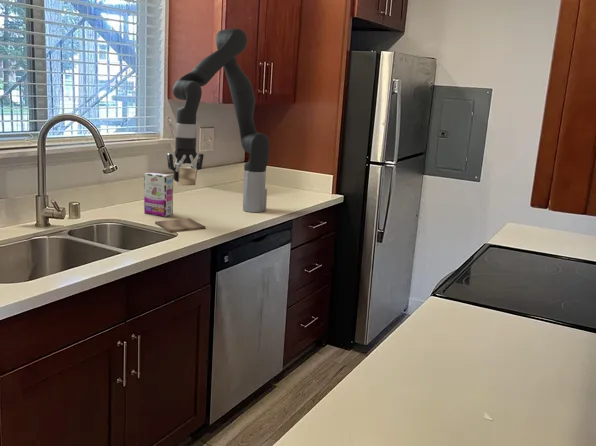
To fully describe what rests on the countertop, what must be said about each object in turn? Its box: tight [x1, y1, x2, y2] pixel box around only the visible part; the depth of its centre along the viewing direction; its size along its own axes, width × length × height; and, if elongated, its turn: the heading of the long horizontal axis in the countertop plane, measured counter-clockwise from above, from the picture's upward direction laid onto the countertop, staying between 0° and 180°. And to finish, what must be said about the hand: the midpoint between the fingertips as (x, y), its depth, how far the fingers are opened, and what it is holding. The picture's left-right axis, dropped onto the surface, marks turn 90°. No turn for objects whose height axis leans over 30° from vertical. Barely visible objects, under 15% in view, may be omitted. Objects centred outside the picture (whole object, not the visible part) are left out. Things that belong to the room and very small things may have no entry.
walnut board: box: [154, 217, 206, 233], centre depth 219 cm, size 14×14×1 cm
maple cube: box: [173, 166, 197, 187], centre depth 220 cm, size 6×6×6 cm
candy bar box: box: [143, 171, 174, 218], centre depth 234 cm, size 11×5×16 cm, turn 62°
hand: (184, 180), depth 220 cm, fingers closed on maple cube, 6 cm apart
